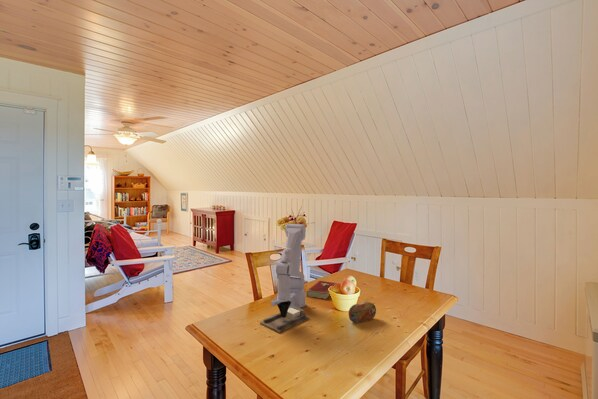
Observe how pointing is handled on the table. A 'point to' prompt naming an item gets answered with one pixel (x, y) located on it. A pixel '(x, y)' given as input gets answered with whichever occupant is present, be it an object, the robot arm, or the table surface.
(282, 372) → the table surface
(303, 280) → the robot arm
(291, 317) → the block
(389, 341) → the table surface
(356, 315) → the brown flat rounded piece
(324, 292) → the hardcover book
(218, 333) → the table surface
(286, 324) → the brown and grey tray
